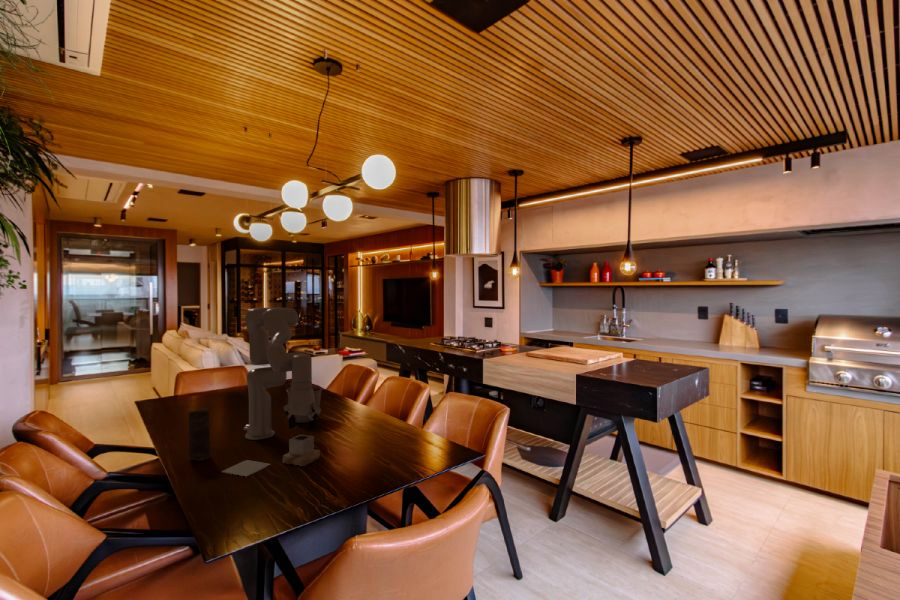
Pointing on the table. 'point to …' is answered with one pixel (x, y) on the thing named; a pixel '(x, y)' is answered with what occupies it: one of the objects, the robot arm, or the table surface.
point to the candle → (199, 435)
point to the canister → (317, 396)
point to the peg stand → (301, 458)
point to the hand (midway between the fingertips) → (302, 428)
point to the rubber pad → (246, 468)
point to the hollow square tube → (301, 445)
